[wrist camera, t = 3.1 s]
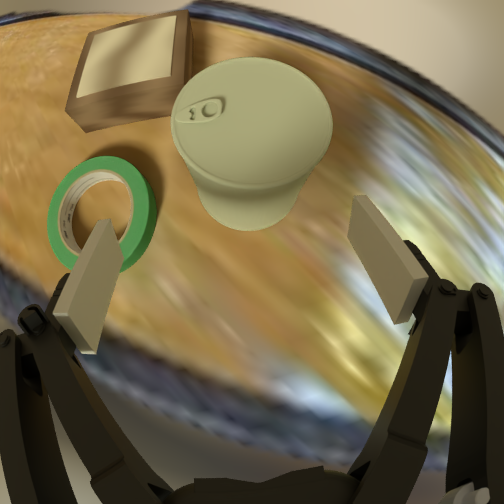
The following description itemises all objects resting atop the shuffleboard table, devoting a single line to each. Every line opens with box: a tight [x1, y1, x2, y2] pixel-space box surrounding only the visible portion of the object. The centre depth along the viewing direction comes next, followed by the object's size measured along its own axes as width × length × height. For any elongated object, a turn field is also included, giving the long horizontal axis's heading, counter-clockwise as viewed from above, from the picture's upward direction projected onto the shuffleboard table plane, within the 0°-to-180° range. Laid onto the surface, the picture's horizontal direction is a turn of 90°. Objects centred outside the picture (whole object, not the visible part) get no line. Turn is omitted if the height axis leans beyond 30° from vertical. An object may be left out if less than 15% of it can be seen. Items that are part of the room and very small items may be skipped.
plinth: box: [65, 9, 193, 133], centre depth 25 cm, size 12×12×5 cm
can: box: [171, 57, 333, 231], centre depth 21 cm, size 9×9×12 cm
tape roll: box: [47, 156, 157, 273], centre depth 25 cm, size 11×11×3 cm
